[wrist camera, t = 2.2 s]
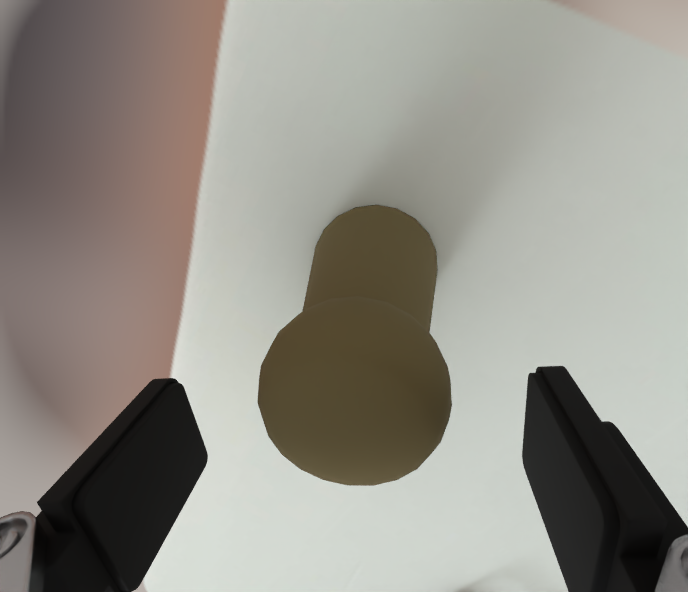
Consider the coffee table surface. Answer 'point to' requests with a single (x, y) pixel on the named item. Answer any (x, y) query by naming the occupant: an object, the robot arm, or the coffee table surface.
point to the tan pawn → (361, 355)
